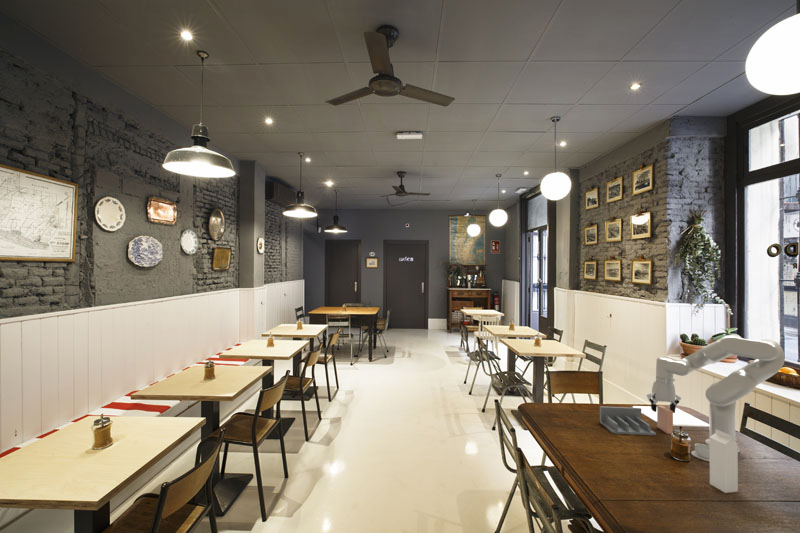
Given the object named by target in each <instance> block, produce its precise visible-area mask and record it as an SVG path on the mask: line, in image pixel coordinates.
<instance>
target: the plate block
mask: <svg viewBox="0 0 800 533" xmlns="http://www.w3.org/2000/svg"><path fill="white" fill-rule="evenodd" d="M656 423H657V425H656V426H657V428H658V429H660V430H661V431H662V432H664V433H665V434H666V435H667V434H668V435H669V434H670V435H673V434H672V431H673V432H674V426H673V411H671V410H670V408H668V407H666V406H664V405H657V422H656Z"/></svg>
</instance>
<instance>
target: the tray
mask: <svg viewBox="0 0 800 533" xmlns="http://www.w3.org/2000/svg"><path fill="white" fill-rule="evenodd" d="M632 408H641V415H643V416H645V417H647V418H648V419H650V420H652V421H654V422H655V423H657V410H656V412H654V411H653V410H652V409H651V405H650V406H649V405H647V406H646V405H645V406H643V405H633V406H632ZM673 427H698V428H699V427H701V428H702V427H703V428H704V427H705V428H709V423H708V422H706V421H703V420H701V419H700V418H697V417H695V416H694V415H692V414H689V413H688V412H685V411H684V410H681V409H680V408H678V407H676V410H675V413H673Z"/></svg>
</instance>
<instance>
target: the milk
mask: <svg viewBox="0 0 800 533" xmlns="http://www.w3.org/2000/svg"><path fill="white" fill-rule="evenodd" d="M738 445H739V444H738V442H736V440H735V441H733V440H731V435H729V434H726V433H724V432H722V431H719V430H717V429H716V430H715V433H714V434H713V435H712V436H711V437H710V461H709V485H711V486H712V487H714V488H716V489H718V490H719V491H721V492H723V493H724V494H728V493H738V492H739V489H738V488H739V483H738V482H739V477H738V476H739V468H738V466H739V465H738V463H739V462H738V461H739V460H738V458H739V457H738V456H739V454H738V453H739V452H738V447H739V446H738Z"/></svg>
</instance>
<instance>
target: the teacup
mask: <svg viewBox="0 0 800 533" xmlns="http://www.w3.org/2000/svg"><path fill="white" fill-rule="evenodd" d="M693 446H694V450H691V451H690V454H691V455H692V456H693V457H696V458H697V459H700V460H702V461H707V462H710V446H709V445H707V444H706V443H699V442H697V443H694V445H693Z"/></svg>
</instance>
